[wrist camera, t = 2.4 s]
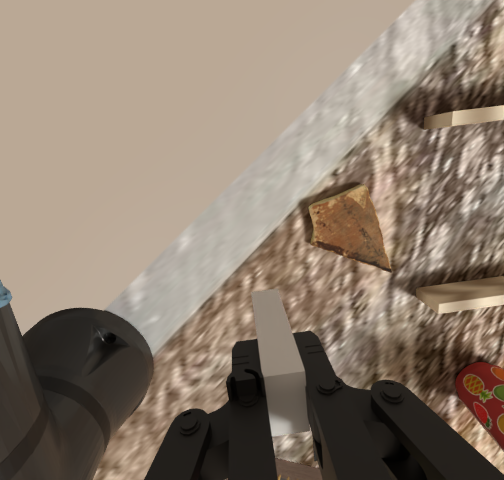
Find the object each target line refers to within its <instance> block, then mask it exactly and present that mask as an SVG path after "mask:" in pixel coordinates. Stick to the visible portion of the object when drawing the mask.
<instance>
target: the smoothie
mask: <svg viewBox="0 0 504 480" xmlns="http://www.w3.org/2000/svg"><path fill="white" fill-rule="evenodd" d="M455 386H456V390H457V391H458V395H459V399H460V400H461V401H462V403H463V404H464V405H465V406H466V407H467V408H468V410H469V411H470V412H471V413H472V414H473V416H474V417H475V418H476V419H477V420H478V422H479V423H480V424H481V425H482V426H483V428H484V429H485V430H486V431H487V432H488V434H489V435H490V436H491V437H492V438H493V440H494V441H495V442H496V443H497V444H498V445H499V447H500V448H501V449H502V450H503V451H504V369H502V368H501V367H499V366H495V365H490V364H488V363H485V362H477V363H473V364H471V365H468V366H467V367H465V368H464V369H463V370H462V371H461V372H460V373H459V374H458V376H457V378H456V382H455Z"/></svg>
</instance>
